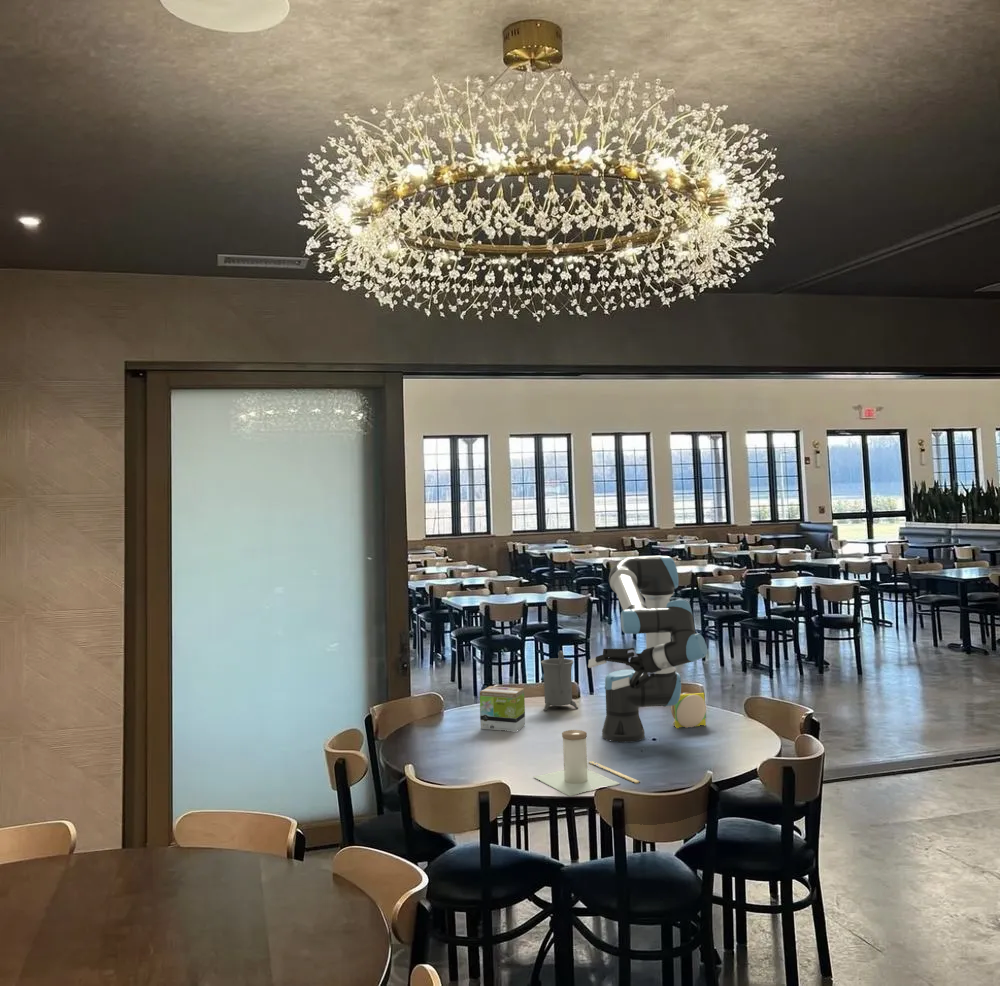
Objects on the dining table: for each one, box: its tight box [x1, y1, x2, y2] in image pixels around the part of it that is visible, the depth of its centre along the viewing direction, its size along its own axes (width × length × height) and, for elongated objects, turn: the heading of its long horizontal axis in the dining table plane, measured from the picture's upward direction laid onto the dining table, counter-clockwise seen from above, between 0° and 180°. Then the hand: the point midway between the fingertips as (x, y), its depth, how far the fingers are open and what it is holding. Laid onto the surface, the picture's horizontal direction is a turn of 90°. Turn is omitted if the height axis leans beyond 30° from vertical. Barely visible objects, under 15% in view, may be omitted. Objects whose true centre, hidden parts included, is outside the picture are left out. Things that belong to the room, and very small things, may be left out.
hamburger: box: [670, 692, 707, 729], centre depth 299 cm, size 12×8×12 cm
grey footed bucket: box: [540, 650, 579, 712], centre depth 334 cm, size 19×15×25 cm
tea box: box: [479, 685, 526, 732], centre depth 306 cm, size 15×10×15 cm, turn 68°
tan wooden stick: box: [588, 760, 641, 784], centre depth 248 cm, size 24×2×1 cm, turn 29°
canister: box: [561, 729, 588, 784], centre depth 241 cm, size 7×7×14 cm
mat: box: [533, 768, 621, 797], centre depth 241 cm, size 20×18×1 cm
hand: (600, 675), depth 259 cm, fingers open, 13 cm apart
